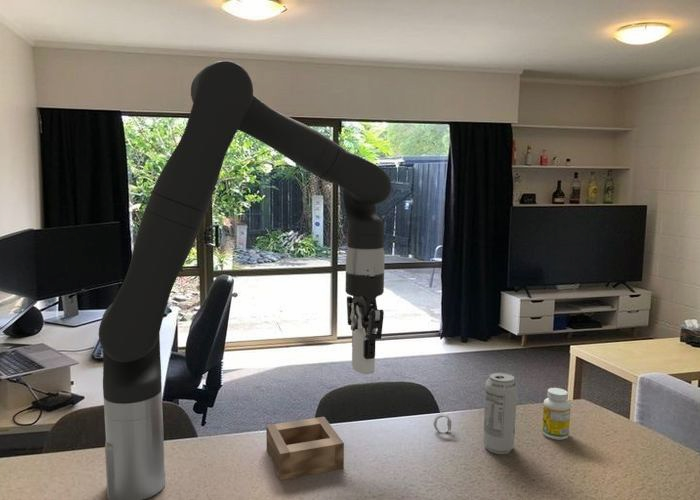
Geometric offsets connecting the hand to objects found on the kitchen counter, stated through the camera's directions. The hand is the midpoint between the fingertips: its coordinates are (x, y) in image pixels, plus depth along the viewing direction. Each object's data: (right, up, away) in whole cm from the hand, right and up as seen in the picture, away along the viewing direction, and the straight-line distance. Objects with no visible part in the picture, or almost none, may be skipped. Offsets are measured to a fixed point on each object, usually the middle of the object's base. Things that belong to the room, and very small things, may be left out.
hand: (363, 353), depth 111 cm
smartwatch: (+17, -19, +8) cm, 26 cm away
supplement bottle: (+41, -19, +7) cm, 46 cm away
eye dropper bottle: (0, -4, +1) cm, 4 cm away
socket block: (-12, -20, -4) cm, 23 cm away
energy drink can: (+27, -20, +1) cm, 34 cm away
